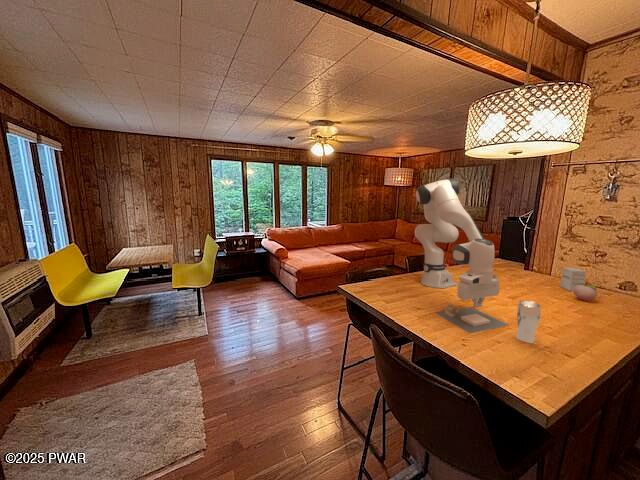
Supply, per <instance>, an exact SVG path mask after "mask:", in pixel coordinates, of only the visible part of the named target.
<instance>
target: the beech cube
mask: <svg viewBox="0 0 640 480" xmlns="http://www.w3.org/2000/svg"><path fill="white" fill-rule="evenodd" d="M459 309H460V307H458V306H456V305H453V304H447V305H445V307H444V311H445V314H447V315H448V316H450V317H455V316H458V311H459Z"/></svg>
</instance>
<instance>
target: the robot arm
mask: <svg viewBox="0 0 640 480" xmlns="http://www.w3.org/2000/svg"><path fill="white" fill-rule="evenodd" d="M460 188H461V187H460V184H459V182H458V180H457V179H456V178H452V177H451V178H447V179H441V180H437V181H436V180H435V181H433V182H429V183H427V184H424V185H423V184H422V185H420V186H418V187H417V188H416V190H415V199H416V201H417V202H418V203H419V204H420V205H423V213H424V218H425V220H426V222H428V223H421V224H418V225H417V226H415V228H414V237H415V238H416V239H417V240H418V241H419V243H421V244H422V246H423V250H424V262H423V272H422V277H421V281H420V284H421V285H423V286H427V287H429V288H437V289H443V290H444V289H446V288H450V287H455V286H457V292H456V294H457V298H458V299H461V300H462V301H468V300H471V301H472V305H473V308H474V307H475V308H481V307H483V303H484V301H485V299H486V298H488V297H495V296H498V295H499V293H500V281H499V277H498V275H496V274H494V269H493V264H494V262H495V251H496V250H495V245H494V243H493V242H492V241H491V240H489V239H485V237H484V235H483V234H482V232H481V231H480V229H479V227H478V225H477V223H476V222H475V220H474V219H473V217H472V215H470V214H469V212H468V211H466V210H465V208H464V207H463V205H462V204H461V201H460V199H459V196H458V195H459V193H460ZM457 227H459V228H460V229H461V230H462V231H463V232H464V233H465V235H466V237H467V239H468V241H469V242H465V243H459V244H456V245H455V246H453V248H452V250H451V256H452V260H453V261H454V262H455V263H456V264H457V265H460V266H461V265H462V266H464V265H466V266H469V267H468V270H467V271H465V272H464V273H462V274H460V275H459V276H458V281H459V282H458V283H457V282H456V280H455V281H454V275H453V274H452V273H451V272H450V271H448V270H447V269H446V268H449V264H448V263H444V259H445V258H444V257H445V252H444V250H443V249H442V248H440V247H439V246H437V245H436V243H445V244H446V243H447V244H449V243H455V242H456V241H457V239H458V238H459V235H460V234H459V232H460V231H459V230H458V228H457Z"/></svg>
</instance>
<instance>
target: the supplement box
mask: <svg viewBox="0 0 640 480" xmlns="http://www.w3.org/2000/svg"><path fill="white" fill-rule="evenodd" d="M586 274H587V271H586V270H584V269H580V268H577V267H563V268H562V274H561V279H560V288H563V289H565V290H567V291H569V292H573V289H574V287H575V286H576V285H575V284H585V280H586V279H585V278H586Z"/></svg>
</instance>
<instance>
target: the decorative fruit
mask: <svg viewBox="0 0 640 480" xmlns="http://www.w3.org/2000/svg"><path fill="white" fill-rule="evenodd" d="M575 285H576V286H575V287H574V289H573V291H572V292H573V294H574V295H575V296H576V297H577V298H578V299H579V300H581V301H583V302H586V301H587V302H588V301H592V300H594V299H596V297H597V296H598V288H597V287H596V286H594V285H591V284H588V283H587V282H586V283H584V284H575Z"/></svg>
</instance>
